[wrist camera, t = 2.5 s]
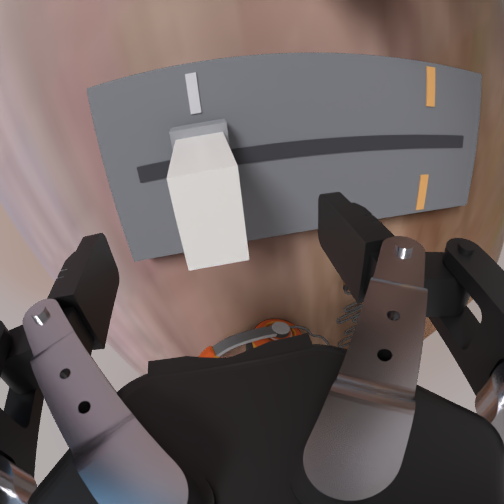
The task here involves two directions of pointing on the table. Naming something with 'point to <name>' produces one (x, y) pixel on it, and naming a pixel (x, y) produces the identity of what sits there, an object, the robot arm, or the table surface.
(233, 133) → the console
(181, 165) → the fader
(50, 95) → the table surface
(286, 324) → the headphones
